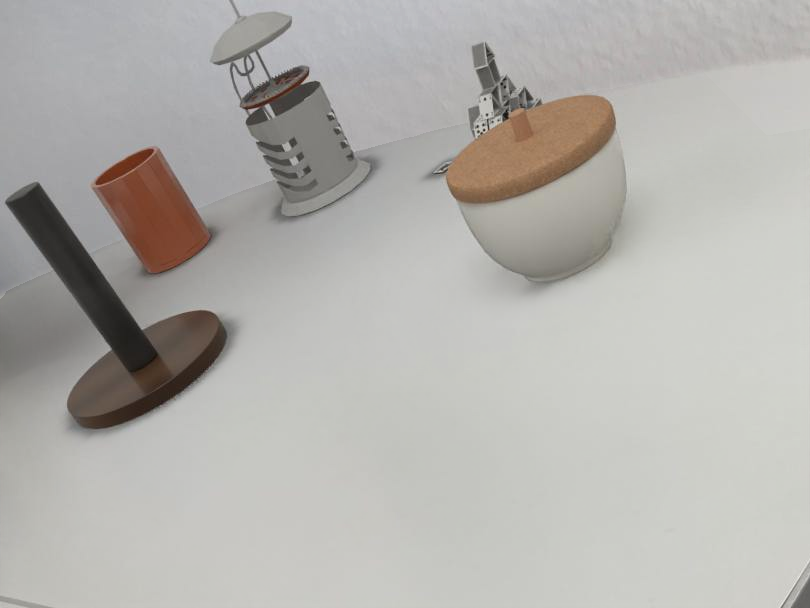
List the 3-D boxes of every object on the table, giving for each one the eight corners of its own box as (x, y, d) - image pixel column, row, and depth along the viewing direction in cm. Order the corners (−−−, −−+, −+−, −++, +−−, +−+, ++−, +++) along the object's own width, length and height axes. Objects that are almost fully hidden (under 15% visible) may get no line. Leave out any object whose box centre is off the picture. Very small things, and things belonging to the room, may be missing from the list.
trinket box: (606, 196, 69) (563, 55, 62) (676, 238, 60) (633, 80, 54) (471, 272, 69) (414, 139, 63) (522, 324, 61) (462, 177, 55)
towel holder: (51, 415, 82) (-89, 246, 72) (175, 317, 87) (60, 144, 77) (122, 441, 73) (-27, 249, 63) (257, 329, 77) (138, 133, 67)
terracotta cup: (135, 272, 101) (79, 188, 95) (188, 232, 104) (136, 147, 98) (168, 275, 96) (111, 186, 90) (223, 232, 99) (171, 143, 93)
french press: (310, 220, 91) (147, -91, 74) (256, 212, 99) (99, -69, 83) (389, 162, 93) (248, -151, 77) (330, 159, 101) (192, -124, 85)
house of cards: (469, 127, 91) (435, 39, 86) (553, 103, 86) (523, 8, 81) (431, 175, 86) (392, 85, 81) (518, 152, 81) (483, 55, 76)
